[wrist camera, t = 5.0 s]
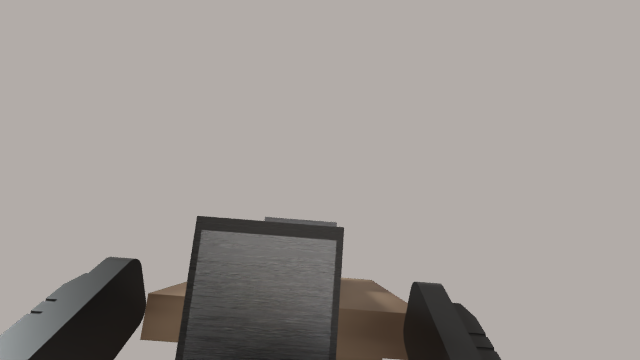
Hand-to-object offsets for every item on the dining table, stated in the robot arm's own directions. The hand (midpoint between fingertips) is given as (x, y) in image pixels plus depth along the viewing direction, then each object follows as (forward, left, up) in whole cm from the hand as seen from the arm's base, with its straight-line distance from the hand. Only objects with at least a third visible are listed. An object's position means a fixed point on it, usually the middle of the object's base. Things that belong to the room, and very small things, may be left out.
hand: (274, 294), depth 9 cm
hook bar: (0, +8, -1) cm, 8 cm away
